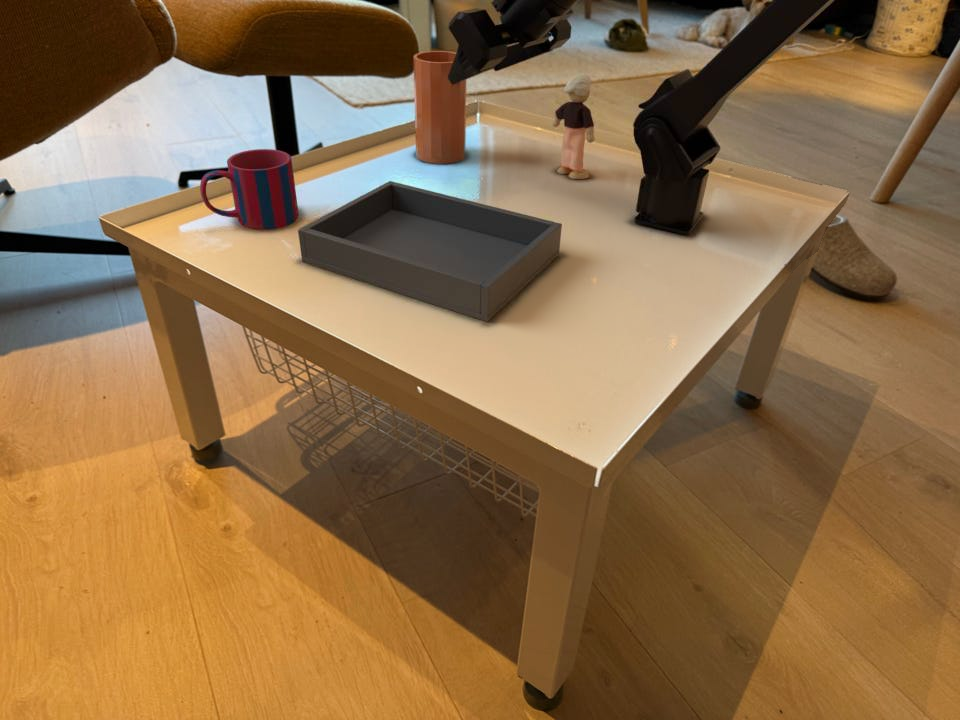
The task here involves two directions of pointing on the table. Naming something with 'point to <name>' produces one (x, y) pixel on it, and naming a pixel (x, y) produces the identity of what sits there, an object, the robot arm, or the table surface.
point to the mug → (259, 189)
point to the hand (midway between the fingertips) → (472, 74)
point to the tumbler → (438, 109)
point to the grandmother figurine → (575, 126)
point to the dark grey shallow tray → (433, 247)
